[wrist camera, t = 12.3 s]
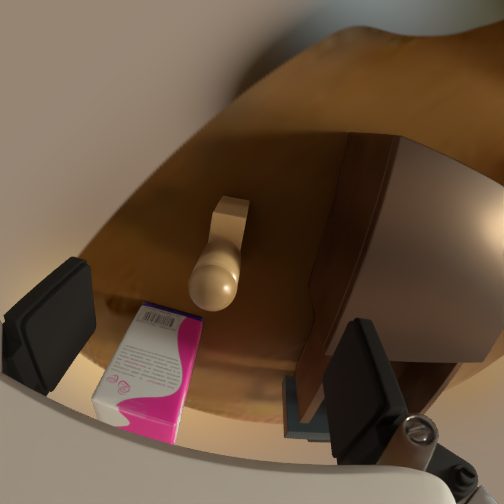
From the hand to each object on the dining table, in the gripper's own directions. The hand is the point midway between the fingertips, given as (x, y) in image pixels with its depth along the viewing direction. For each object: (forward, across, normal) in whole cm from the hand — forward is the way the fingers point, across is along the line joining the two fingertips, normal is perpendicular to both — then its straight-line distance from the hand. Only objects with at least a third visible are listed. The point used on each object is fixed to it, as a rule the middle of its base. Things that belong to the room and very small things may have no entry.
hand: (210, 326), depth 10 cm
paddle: (+13, +1, +1) cm, 13 cm away
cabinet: (+13, -13, -2) cm, 19 cm away
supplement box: (+13, +5, +12) cm, 19 cm away
